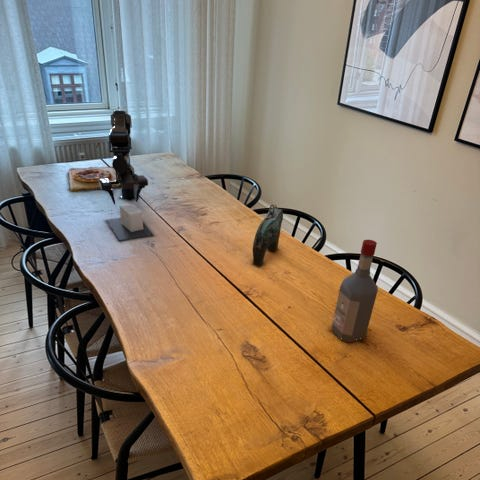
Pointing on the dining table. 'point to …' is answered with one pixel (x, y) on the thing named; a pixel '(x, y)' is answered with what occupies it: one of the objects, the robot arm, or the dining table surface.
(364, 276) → the liquor
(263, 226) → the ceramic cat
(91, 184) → the pizza
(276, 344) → the dining table surface
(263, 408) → the dining table surface
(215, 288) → the dining table surface
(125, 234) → the placemat
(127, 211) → the small box
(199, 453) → the dining table surface
